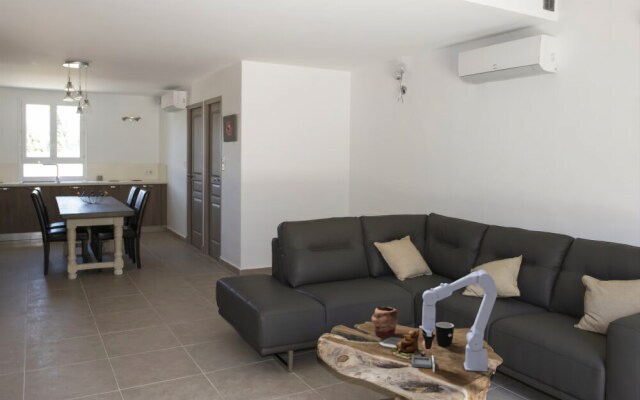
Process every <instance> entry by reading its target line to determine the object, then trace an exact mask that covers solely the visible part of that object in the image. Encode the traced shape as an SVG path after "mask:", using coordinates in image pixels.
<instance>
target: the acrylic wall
mask: <svg viewBox="0 0 640 400" xmlns="http://www.w3.org/2000/svg"><path fill="white" fill-rule="evenodd" d="M431 364H432V366H431V368H432V372H433V373H436V372H435V369H436V365H435V358H434V355H433V354H432V355H431Z"/></svg>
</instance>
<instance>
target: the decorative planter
mask: <svg viewBox="0 0 640 400" xmlns="http://www.w3.org/2000/svg"><path fill="white" fill-rule="evenodd" d="M399 317H400V311H399V310H398V309H395V308H393V307H390V306H378V307H376V308H375V309H374V313H373V314H372V316H371V322H372V324H373V325H374V334H375V335H376V336H378V337H380V338H391V337H394V335H395V333H396V328H397V325H398V322H399Z"/></svg>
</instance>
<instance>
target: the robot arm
mask: <svg viewBox="0 0 640 400" xmlns="http://www.w3.org/2000/svg"><path fill="white" fill-rule="evenodd" d="M469 285H471V286H475V287H477V286H479V287H480V288H481V289H482V290H483V292H484V295H483V298H482V301H481V304H480V306H479V308H478V309H479V310H478V312H477V315H476V317H475V320H474V323H473V325H472V326H471V327H470V330H469V331H468V332H467V333H466V334H465V339H466V341H467V344H466V345H465V359H464V362H463V367H464V369H465V371H471V372H488V361H489V359H488V355H489V354H488V349H487V348H483V346H484V336H485V330H486V326H487V324H488V321H489V320H490V316H491V314H492V310H493V307H494V305H495V303H496V299H497V296H498V291H497V287H496V281H495V280H494V278H493V277H492V275H490V273H489V272H488V271H487V270H486V269H484V268H482V269H478V270H477V271H473V272H471V273H469V274H466V275H465V276H463V277H461V278H459V279H457V280H455V281H454V282H451V283H446V282H445V283H443V282H441V283H440V285H438V286H436V287H434V288H433V287H431V288H430V289H427V290H425V291H424V292H423V294H422V295H421V296H422V297H421V298H422V301H423V302H422V317H421V318H422V319H421V322H422V323H421V325H419V330H420V329H421V331H422V333H421V335H422V337H423V341H425V347H426V349H431V346H432V342H433V343H434V339H435V338H436V333H435V334H434V332H435V331H436V311H437V310H436V309H437V308H436V303H437V301H441V300H444V299H446V298H448V297H450V296H452V294H453V292H455V291H456V290H459V289H462V288H464V287H467V286H469ZM426 349H425V350H426ZM431 350H432V349H431Z"/></svg>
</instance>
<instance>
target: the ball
mask: <svg viewBox="0 0 640 400" xmlns="http://www.w3.org/2000/svg"><path fill="white" fill-rule="evenodd" d="M434 345H435V344H434V341H433V342H432V346H431V349H426V347H425V341H424V340H423V341H422V349H423V350H425V351H431V350H432V349H433V348H434Z"/></svg>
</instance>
